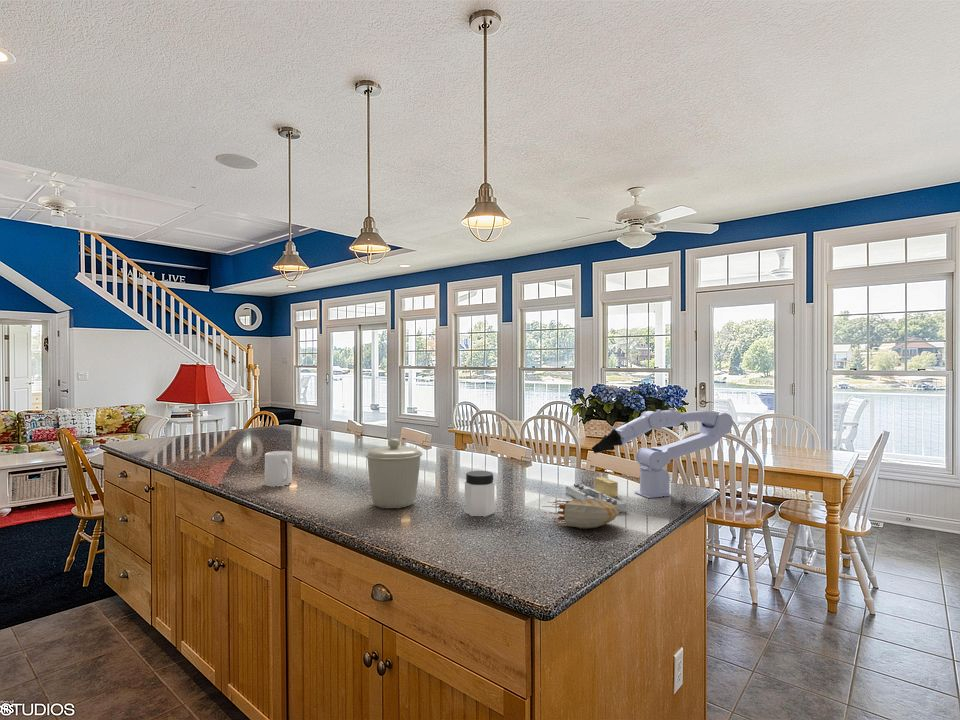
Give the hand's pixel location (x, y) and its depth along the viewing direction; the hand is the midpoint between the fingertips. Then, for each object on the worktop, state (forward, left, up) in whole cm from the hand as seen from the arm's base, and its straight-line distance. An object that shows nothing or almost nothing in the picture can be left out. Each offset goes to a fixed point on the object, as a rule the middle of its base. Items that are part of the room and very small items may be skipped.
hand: (596, 448), depth 177 cm
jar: (+43, +4, -17) cm, 46 cm away
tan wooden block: (-6, -4, -17) cm, 18 cm away
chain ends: (+3, +4, -16) cm, 17 cm away
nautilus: (+20, +24, -17) cm, 36 cm away
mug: (+101, -53, -17) cm, 115 cm away
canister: (+66, -13, -17) cm, 69 cm away
